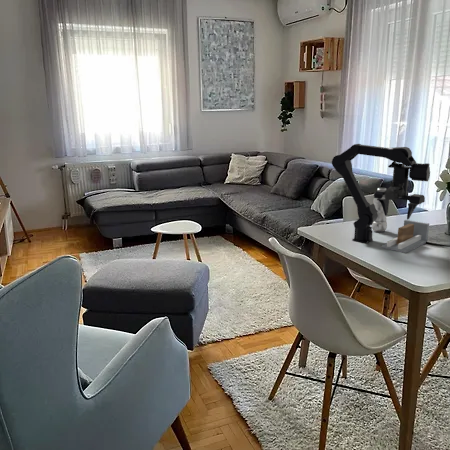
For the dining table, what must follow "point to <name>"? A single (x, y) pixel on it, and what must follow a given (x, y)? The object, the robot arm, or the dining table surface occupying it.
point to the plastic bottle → (379, 216)
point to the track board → (417, 240)
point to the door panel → (405, 233)
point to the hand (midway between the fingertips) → (396, 217)
